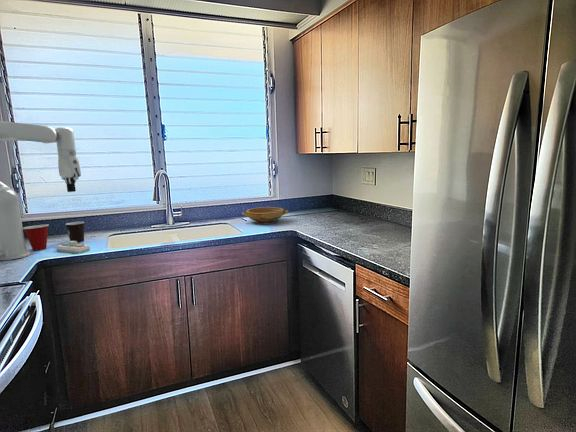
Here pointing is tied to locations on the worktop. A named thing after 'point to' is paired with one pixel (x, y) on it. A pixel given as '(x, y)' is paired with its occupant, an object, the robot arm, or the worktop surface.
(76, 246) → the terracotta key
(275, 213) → the ceramic bowl
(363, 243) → the worktop surface
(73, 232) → the coffee mug
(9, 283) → the worktop surface
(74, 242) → the sage key
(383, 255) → the worktop surface
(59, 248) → the keypad
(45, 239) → the plastic cup
